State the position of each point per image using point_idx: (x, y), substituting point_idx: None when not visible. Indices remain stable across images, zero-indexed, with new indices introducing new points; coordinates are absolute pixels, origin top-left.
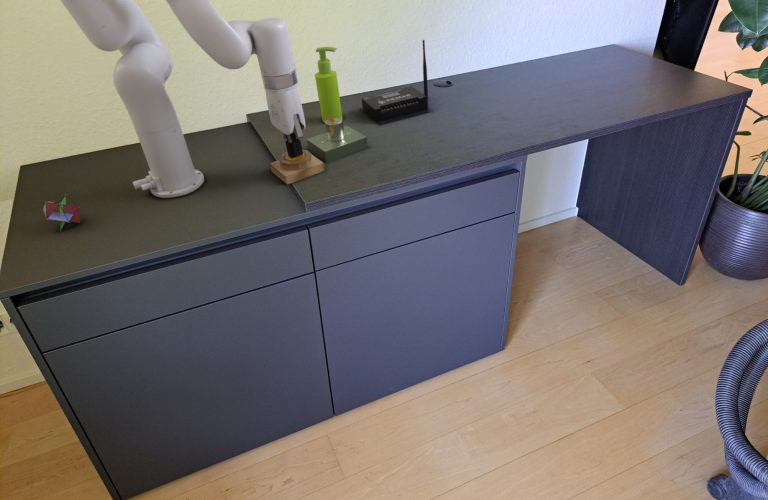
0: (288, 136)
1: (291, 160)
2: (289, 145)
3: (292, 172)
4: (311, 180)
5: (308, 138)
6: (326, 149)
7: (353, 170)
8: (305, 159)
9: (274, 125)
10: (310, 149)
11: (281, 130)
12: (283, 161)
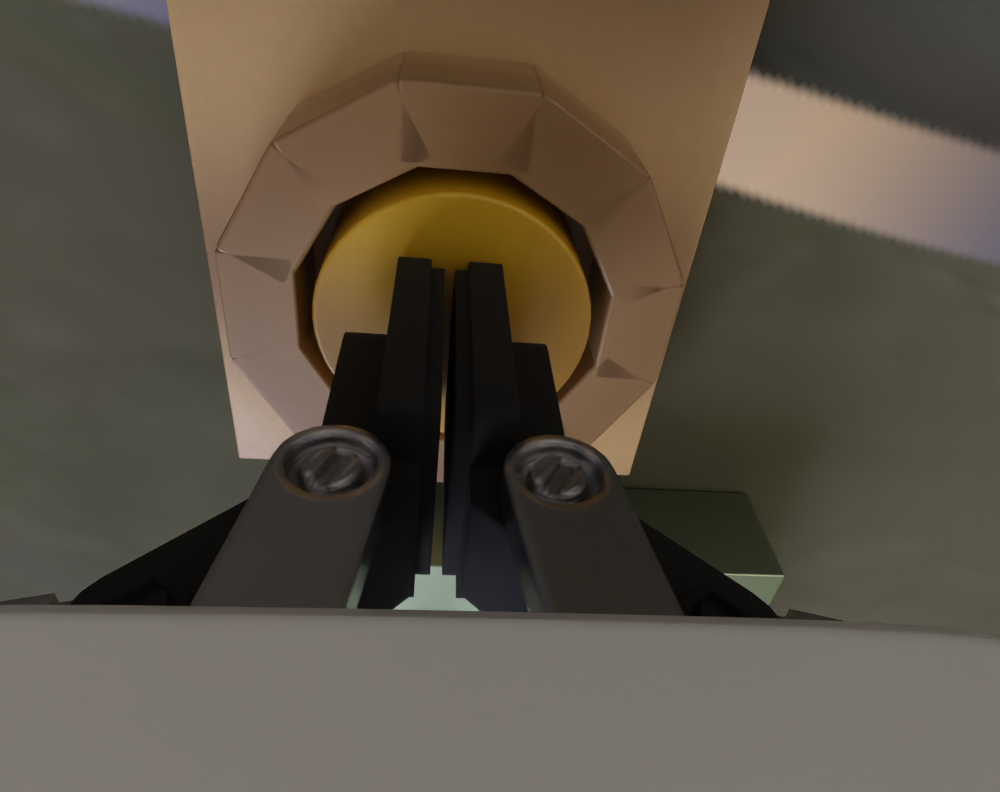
0: (292, 550)
1: (353, 221)
2: (379, 388)
3: (221, 90)
4: (138, 213)
5: (776, 589)
6: (424, 587)
7: (114, 535)
8: (251, 364)
9: (850, 678)
10: (707, 504)
11: (157, 664)
12: (426, 115)
